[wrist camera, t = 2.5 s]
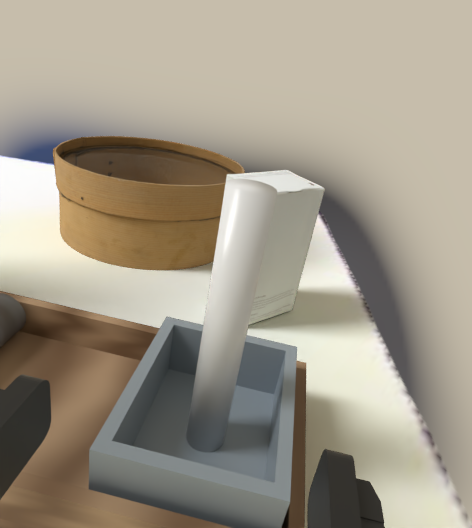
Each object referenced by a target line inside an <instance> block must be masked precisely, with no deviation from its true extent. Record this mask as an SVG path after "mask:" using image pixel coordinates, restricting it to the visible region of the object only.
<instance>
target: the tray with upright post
mask: <svg viewBox="0 0 472 528" xmlns="http://www.w3.org/2000/svg"><path fill="white" fill-rule="evenodd" d="M276 195H277V189H276V188H274V187H273V186H271V185H269V184H266V183H263V182H259V181H255V180H249V179H230V180H227V181H226V186H225V192H224V198H223V205H222V211H221V217H220V224H219V230H218V236H217V243H216V249H215V255H214V262H213V268H212V274H211V281H210V287H209V293H208V300H207V306H206V312H205V319H204V325H201V324H196V323H192V322H188V321H183V320H179V319H175V318H171V317H166V319H165V320H164V322H163V324H162V326H161V327H160V329H159V331H158V332H157V334H156V336H155V338H154V339H153V341H152V343H151V344H150V346H149V348H148V350H147V351H146V353H145V355H144V357H143V358H142V360H141V362H140V363H139V365H138V367H137V369H136V370H135V372H134V374H133V375H132V377H131V379H130V381H129V382H128V384H127V386H126V387H125V389H124V391H123V393H122V394H121V396H120V398H119V399H118V401H117V403H116V405H115V406H114V408H113V410H112V411H111V413H110V415H109V417H108V418H107V420H106V422H105V423H104V425H103V427H102V429H101V430H100V432H99V434H98V435H97V437H96V439H95V441H94V442H93V444H92V446H91V447H90V449H89V489H90V490H93V491H97V492H101V493H105V494H108V495H112V496H116V497H120V498H123V499H127V500H131V501H134V502H138V503H142V504H146V505H149V506H153V507H157V508H161V509H164V510H168V511H172V512H176V513H179V514H183V515H187V516H190V517H194V518H198V519H202V520H205V521H209V522H213V523H217V524H220V525H224V526H228V527H232V528H281V527H282V524H283V521H284V518H285V515H286V512H287V510H288V507H289V504H290V494H291V471H292V449H293V427H294V404H295V382H296V360H297V347H295V346H291V345H286V344H282V343H278V342H274V341H269V340H265V339H261V338H256V337H252V336H248V335H247V330H248V325H249V321H250V316H251V311H252V307H253V302H254V298H255V293H256V288H257V284H258V279H259V274H260V270H261V265H262V260H263V256H264V251H265V246H266V242H267V237H268V232H269V228H270V223H271V218H272V214H273V209H274V204H275V200H276Z"/></svg>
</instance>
